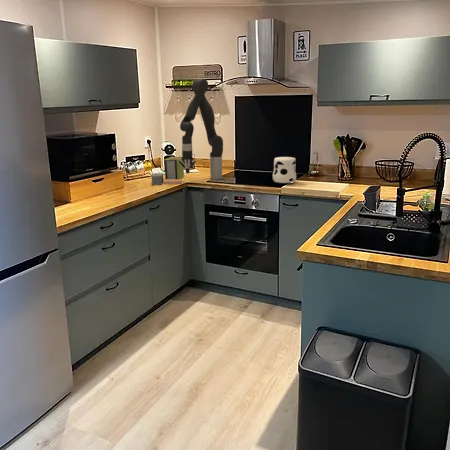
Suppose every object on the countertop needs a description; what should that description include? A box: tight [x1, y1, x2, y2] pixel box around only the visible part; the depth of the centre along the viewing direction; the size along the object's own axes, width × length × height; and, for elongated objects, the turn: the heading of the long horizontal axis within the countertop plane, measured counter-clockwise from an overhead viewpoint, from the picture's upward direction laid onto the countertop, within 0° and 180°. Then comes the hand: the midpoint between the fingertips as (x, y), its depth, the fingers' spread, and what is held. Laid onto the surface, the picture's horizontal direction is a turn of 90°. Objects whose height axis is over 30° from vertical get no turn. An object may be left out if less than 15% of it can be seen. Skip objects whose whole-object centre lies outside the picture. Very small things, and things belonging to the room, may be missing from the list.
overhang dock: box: [150, 172, 165, 186], centre depth 337 cm, size 7×12×6 cm, turn 0°
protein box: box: [163, 156, 185, 180], centre depth 355 cm, size 10×15×16 cm
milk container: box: [272, 156, 297, 185], centre depth 329 cm, size 17×17×18 cm
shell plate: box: [162, 178, 183, 185], centre depth 337 cm, size 13×8×2 cm, turn 87°
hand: (187, 173), depth 336 cm, fingers closed
